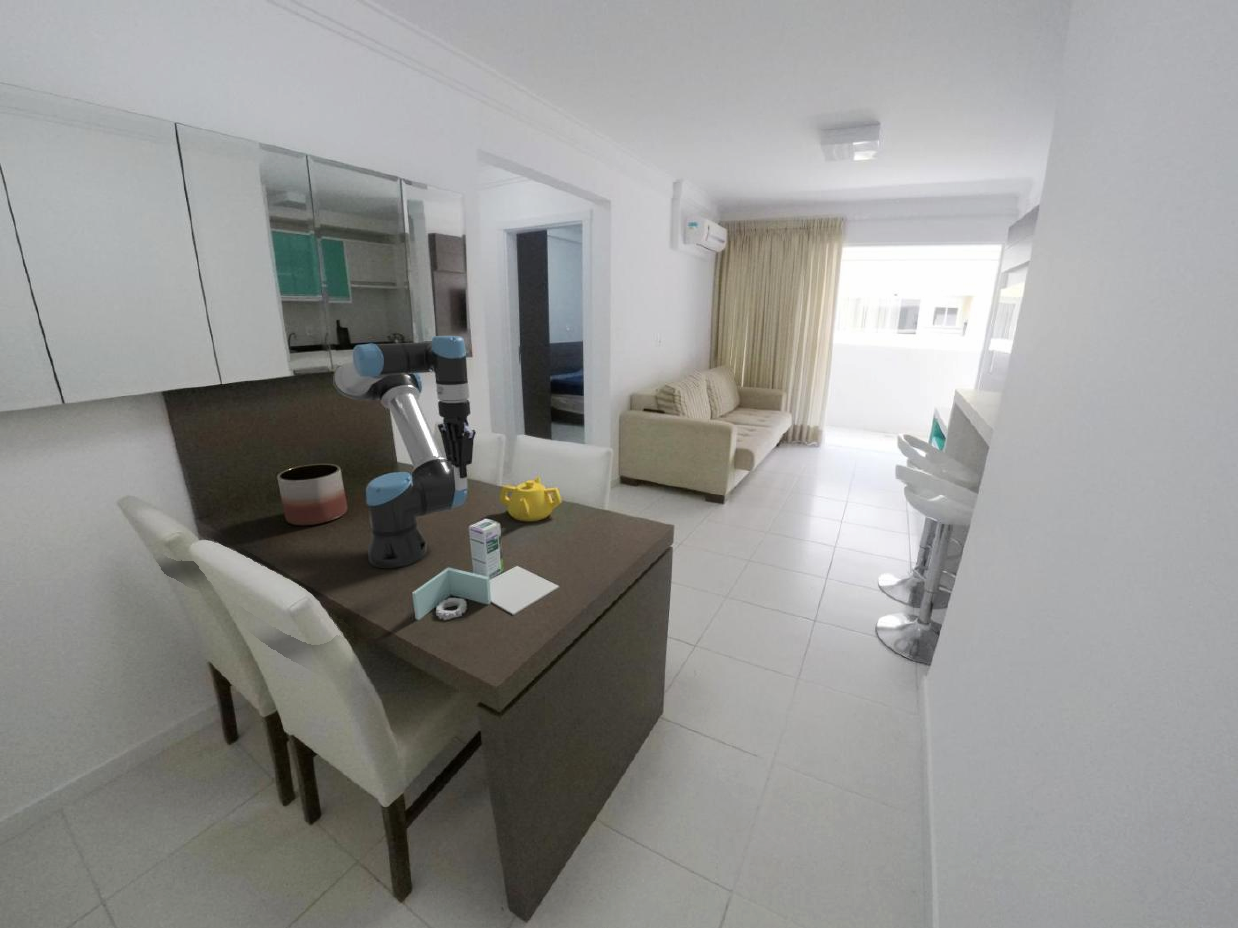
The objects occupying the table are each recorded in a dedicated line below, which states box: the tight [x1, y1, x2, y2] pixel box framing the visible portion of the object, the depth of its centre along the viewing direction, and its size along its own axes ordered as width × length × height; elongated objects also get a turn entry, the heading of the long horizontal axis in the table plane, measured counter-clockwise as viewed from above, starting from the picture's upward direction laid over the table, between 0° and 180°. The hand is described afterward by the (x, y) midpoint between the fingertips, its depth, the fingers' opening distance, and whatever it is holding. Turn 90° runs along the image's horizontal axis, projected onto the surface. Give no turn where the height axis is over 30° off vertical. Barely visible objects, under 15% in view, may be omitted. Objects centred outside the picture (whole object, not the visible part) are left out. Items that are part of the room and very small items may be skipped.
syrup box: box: [468, 518, 505, 579], centre depth 127 cm, size 6×6×14 cm
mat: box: [490, 565, 560, 616], centre depth 122 cm, size 16×15×1 cm
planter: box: [276, 463, 348, 526], centre depth 159 cm, size 18×18×16 cm
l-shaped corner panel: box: [411, 566, 492, 621], centre depth 112 cm, size 12×12×8 cm
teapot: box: [498, 477, 563, 522], centre depth 165 cm, size 17×17×12 cm
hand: (461, 488), depth 127 cm, fingers closed
